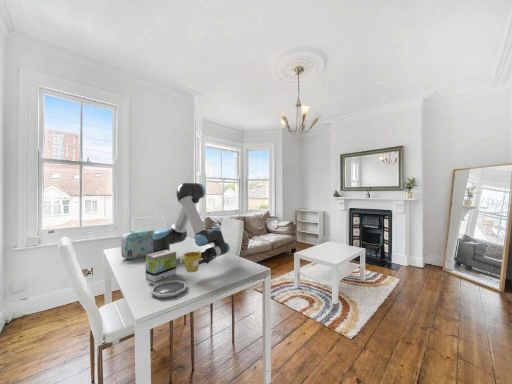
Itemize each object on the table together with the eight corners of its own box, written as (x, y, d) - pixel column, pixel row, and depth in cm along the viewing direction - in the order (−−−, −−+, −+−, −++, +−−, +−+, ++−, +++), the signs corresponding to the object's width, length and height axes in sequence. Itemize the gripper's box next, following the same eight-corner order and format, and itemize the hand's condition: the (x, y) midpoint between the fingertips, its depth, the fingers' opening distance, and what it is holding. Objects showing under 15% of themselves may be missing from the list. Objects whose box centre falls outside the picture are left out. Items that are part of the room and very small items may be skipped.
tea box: (155, 282, 127) (154, 257, 127) (145, 278, 133) (144, 254, 132) (176, 274, 140) (176, 251, 140) (166, 270, 145) (166, 248, 145)
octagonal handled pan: (135, 290, 117) (135, 286, 117) (162, 279, 132) (162, 275, 132) (166, 302, 105) (166, 297, 105) (192, 288, 120) (192, 284, 120)
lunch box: (126, 262, 162) (126, 233, 162) (118, 259, 168) (118, 232, 167) (158, 253, 185) (158, 228, 185) (151, 251, 190) (151, 227, 190)
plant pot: (179, 272, 127) (179, 255, 127) (190, 266, 137) (190, 250, 137) (193, 275, 123) (194, 257, 123) (204, 268, 133) (204, 252, 133)
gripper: (225, 261, 140) (201, 272, 121) (199, 255, 151) (173, 264, 132) (226, 249, 140) (201, 259, 121) (199, 244, 151) (173, 252, 132)
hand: (186, 262), depth 126 cm, fingers closed on plant pot, 10 cm apart
